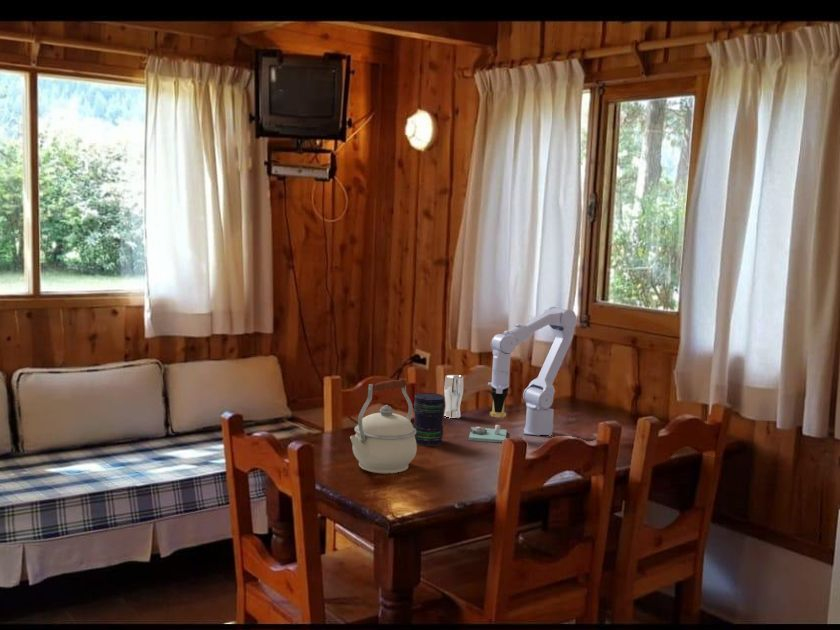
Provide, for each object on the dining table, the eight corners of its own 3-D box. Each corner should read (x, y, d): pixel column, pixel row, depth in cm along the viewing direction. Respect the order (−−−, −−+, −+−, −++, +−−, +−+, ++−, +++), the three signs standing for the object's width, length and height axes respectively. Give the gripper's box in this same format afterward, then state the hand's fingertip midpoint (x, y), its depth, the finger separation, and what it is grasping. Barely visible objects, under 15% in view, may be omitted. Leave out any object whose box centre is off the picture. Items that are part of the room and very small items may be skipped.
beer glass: (462, 415, 304) (464, 375, 303) (461, 419, 298) (463, 378, 296) (443, 413, 305) (445, 374, 303) (441, 418, 298) (444, 377, 297)
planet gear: (506, 414, 277) (507, 399, 277) (505, 418, 272) (506, 403, 272) (490, 413, 278) (490, 398, 278) (489, 416, 273) (490, 401, 272)
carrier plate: (506, 432, 282) (507, 421, 282) (505, 443, 268) (506, 431, 268) (471, 429, 284) (472, 418, 283) (468, 440, 270) (469, 428, 269)
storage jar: (422, 435, 272) (424, 391, 270) (448, 441, 267) (450, 396, 266) (406, 442, 264) (408, 396, 262) (432, 447, 259) (435, 400, 257)
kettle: (385, 452, 250) (389, 371, 248) (432, 466, 239) (437, 381, 236) (325, 468, 231) (329, 381, 228) (374, 484, 220) (378, 392, 217)
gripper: (489, 366, 281) (487, 405, 283) (487, 373, 267) (485, 414, 268) (510, 367, 280) (508, 406, 282) (509, 375, 266) (507, 416, 267)
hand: (498, 410), depth 275 cm, fingers closed on planet gear, 4 cm apart
